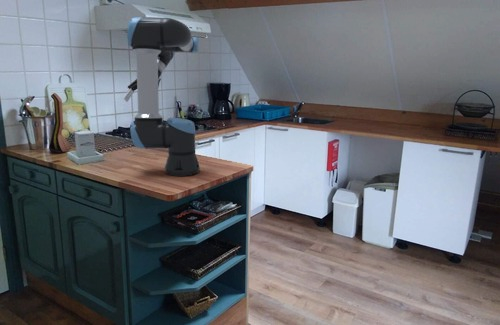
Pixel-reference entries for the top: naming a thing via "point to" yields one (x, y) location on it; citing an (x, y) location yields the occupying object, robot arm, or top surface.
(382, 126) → the top surface
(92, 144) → the supplement box
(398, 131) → the top surface
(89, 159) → the tray
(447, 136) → the top surface
